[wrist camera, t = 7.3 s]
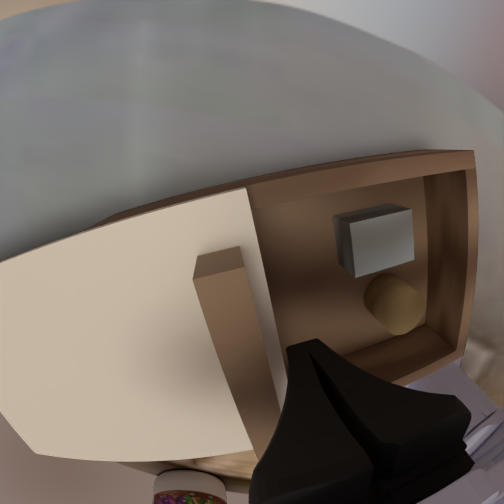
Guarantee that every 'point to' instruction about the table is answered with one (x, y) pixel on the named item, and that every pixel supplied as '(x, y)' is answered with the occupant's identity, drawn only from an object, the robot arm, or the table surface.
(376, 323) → the storage box
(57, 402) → the lid
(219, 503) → the milk bottle
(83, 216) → the table surface
